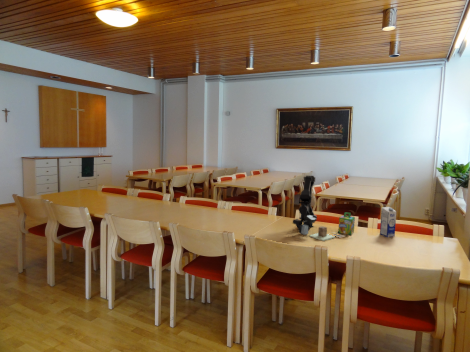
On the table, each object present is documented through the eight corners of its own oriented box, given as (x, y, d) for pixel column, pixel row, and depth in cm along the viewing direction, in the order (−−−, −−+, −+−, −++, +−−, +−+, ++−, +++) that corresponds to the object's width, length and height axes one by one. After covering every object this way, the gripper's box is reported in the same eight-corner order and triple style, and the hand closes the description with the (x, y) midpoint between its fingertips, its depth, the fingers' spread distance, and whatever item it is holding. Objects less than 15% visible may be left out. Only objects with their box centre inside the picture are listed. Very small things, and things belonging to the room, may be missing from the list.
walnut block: (318, 235, 228) (318, 227, 227) (321, 234, 230) (322, 226, 229) (322, 237, 225) (323, 228, 224) (326, 236, 227) (326, 227, 226)
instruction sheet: (327, 234, 234) (327, 234, 234) (333, 232, 238) (334, 232, 238) (339, 237, 226) (339, 237, 226) (345, 236, 230) (345, 235, 230)
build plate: (309, 236, 229) (309, 235, 229) (321, 233, 236) (321, 232, 236) (323, 241, 219) (323, 239, 219) (334, 237, 226) (335, 236, 226)
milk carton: (387, 233, 237) (389, 206, 234) (394, 236, 231) (396, 208, 228) (379, 234, 234) (381, 207, 232) (387, 237, 228) (389, 209, 225)
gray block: (300, 233, 236) (300, 225, 235) (303, 232, 238) (304, 224, 238) (304, 234, 233) (304, 226, 232) (308, 233, 235) (308, 225, 235)
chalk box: (338, 233, 237) (338, 213, 235) (341, 230, 245) (342, 210, 243) (351, 235, 232) (352, 214, 230) (354, 232, 240) (355, 212, 238)
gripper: (304, 214, 222) (303, 237, 224) (322, 211, 233) (321, 232, 235) (292, 211, 231) (291, 233, 233) (310, 208, 242) (309, 228, 243)
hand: (304, 232), depth 236 cm, fingers open, 8 cm apart
